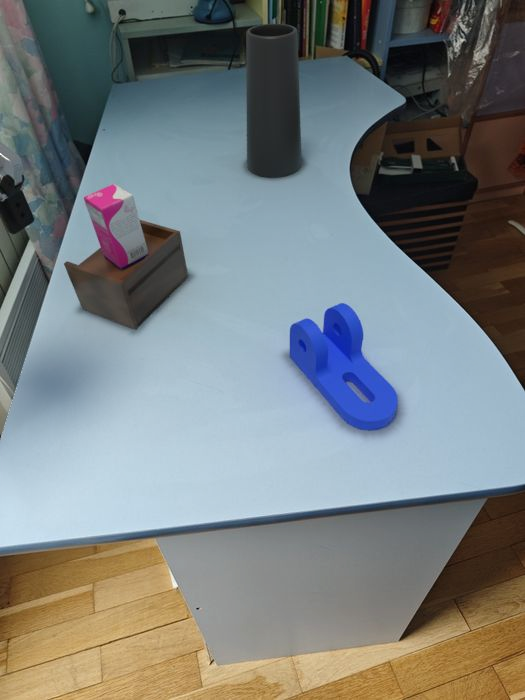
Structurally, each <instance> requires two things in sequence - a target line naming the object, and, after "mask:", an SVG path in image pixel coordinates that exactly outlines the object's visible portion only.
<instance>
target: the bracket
mask: <svg viewBox="0 0 525 700" xmlns="http://www.w3.org/2000/svg"><path fill="white" fill-rule="evenodd" d="M363 341H364V329H363V325H362V322H361V320H360V317H359V316H358V314H357V313H356V311H355V310H354V309H353V308H352V307H351V306H350V305H348V304H347V303H345V302H340V303H338V304H336V305H333V306H331V307H329V308H327V309H326V310H325V311H324V315H323V327H322V330H321V328H320V327H319V326H318V324H317V323H316V322H315V321H314V320H312V319H310V318H308V317H307V318H306V317H305V318H304V319H301V320H299V321H296V322H294V323H292V324H291V325H290V328H289V358H290V359H291V360H292V361H293V362H294V364H295V365H296V366H297V368H298V369H300V371H301V372H302V373H303V374H304V375H305V377H307V379H308V380H309V381H310V382H311V383H312V385H313V386H314V387H315V388H316V389H317V390H318V392H319V393H320V394H321V395H322V396H323V398H324V399H325V400H326V401H327V402H328V403H329V405H330V406H331V407H332V408H333V410H335V412H336V413H337V414H338V415H339V417H340V418H341V419H342V420H343V421H344V422H345V423H347V424H348V425H350V426H351V427H354V428H355V429H359V430H363V431H375V430H380V429H382V428H385V427H386V426H388V425H389V424H390V423H391V422H392V421H393V419H394V417H395V415H396V411H397V408H398V407H397V406H398V404H399V403H398V402H399V398H398V393H397V391H396V390H395V388H394V387H393V385H391V383H390V382H389V381H388V380H387V379H385V377H384V376H383V375H381V374H380V372H378V370H376V368H375V367H374V366H373V365H372V364H371V363H370V362H369V361H367V358H365V356H364V355H363V350H362V349H363V348H362V347H363V343H364V342H363ZM347 382H351V383H352V384H353V385H354V386H355V388H357V389H358V390H359V391H360V392H361V394H363V395H364V397H365V398H367V400H368V401H369V402H366V401H364V400H363V399H362V398H361V397H360V396H358V394H357V393H356V392H355V391H354V389H352V387H351V386H349V384H348V383H347Z"/></svg>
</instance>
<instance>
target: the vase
mask: <svg viewBox="0 0 525 700" xmlns="http://www.w3.org/2000/svg"><path fill="white" fill-rule="evenodd" d="M245 36H246V37H245V38H246V39H245V40H246V41H245V43H246V46H245V47H246V49H245V50H246V51H245V52H246V53H245V55H246V57H245V58H246V61H245V62H246V66H245V67H246V68H245V69H246V73H245V74H246V75H245V76H246V167H247V169H248V171H249V172H250V173H251V174H254V175H256V176H259V177H263V178H272V179H273V178H283V177H288V176H290V175H293V174H295V173H296V172H298V171H299V170H300V169H301V167H302V161H303V159H302V136H301V135H302V131H301V130H302V128H301V126H302V125H301V100H300V99H301V98H300V97H301V96H300V70H299V41H298V40H299V39H298V37H299V36H298V28H296V27H295V26H293V25H290V24H286V23H264V24H258V25H255V26H252V27H250V28H248V29H247V31H246V35H245Z"/></svg>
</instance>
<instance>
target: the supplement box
mask: <svg viewBox="0 0 525 700" xmlns="http://www.w3.org/2000/svg"><path fill="white" fill-rule="evenodd" d="M83 200H84V203H85V206H86V209H87V212H88V215H89V218H90V220H91V223H92V226H93V230H94V231H95V234H96V235H95V236H96V238H97V241H98V243H99V246H100V248H101V249H102V252H103V255H104V257H105V258H106V259H108V260H109V261H110V262H111V263H113V264H114V265H115V266H117V267H118V268H119V269H120V270H124V269H126V268H127V267H129V266H131V265H133V264H135V263H137V262H139V261H141V260H143V259H144V258H145V257H147V256H148V255H149V253H148V249H147V246H146V242H145V238H144V234H143V231H142V227H141V224H140V220H141V219H140V217H139V213H138V209H137V205H136V201H135V198H134V195H133V193H130V192H129V191H127V190H125V189H123V188H121V187H120V186H118V185H116V184H115V183H113V184H110V185H108V186H106V187H104V188H101V189H99V190H97V191H94V192H92V193H89V194H87V195H85V196H83Z"/></svg>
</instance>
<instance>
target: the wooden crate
mask: <svg viewBox="0 0 525 700" xmlns="http://www.w3.org/2000/svg"><path fill="white" fill-rule="evenodd" d="M139 220H140V224H141V227H142V231H143V234H144V238H145V242H146V246H147V249H148V253H149V255H148V256H147V257H145V258H144V259H143V260H141V261H139V262H137V263H135V264H133V265H131V266H129V267H127V268H126V269H124V270H120V269H119V268H118V267H117V266H115V265H114V264H113V263H111V262H110V261H109V260H108V259H106V258H105V257H104V255H103V252H102V249H101V247H99V248H98V249H97V250H96V251H94V252H93V253H92V254H90V255H89V256H87V258H85V259H84V260H83V261H82V262H80V263H79V264H77V263H73V262H71V261H68V260H67V261H65V262H64V263H63V266H64V268H65V271H66V273H67V275H68V277H69V280H70V282H71V285H72V287H73V290H74V293H75V294H76V297H77V299H78V302H79V305H80V307H81V310H84V311H86V312H88V313H91V314H94V315H97V316H99V317H101V318H104V319H106V320H110V321H112V322H114V323H117V324H119V325H121V326H125V327H127V328H130V329H132V330H137V329H138V328H139V327H140V326H141V325H142V324H143V323H144V322H145V321H146V320H147V319H148V318H149V317H150V316H151V315H152V314H153V313H154V312H155V311H156V310H157V309H158V308H159V307H160V306H161V305H163V303H165V301H166V300H167V299H168V298H169V297H170V296H171V295H172V294H173V293H174V292H175V291H176V290H177V289H178V288H179V287H180V286H181V285H182V284H183V283H184V282H185V281H186V280H187V279H188V278H189V272H188V266H187V262H186V261H187V260H186V257H185V250H184V245H183V239H182V234H181V230H176V229H175V228H170V227H167V226H164V225H160V224H156V223H152V222H148V221H146V220H143V219H139Z"/></svg>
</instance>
